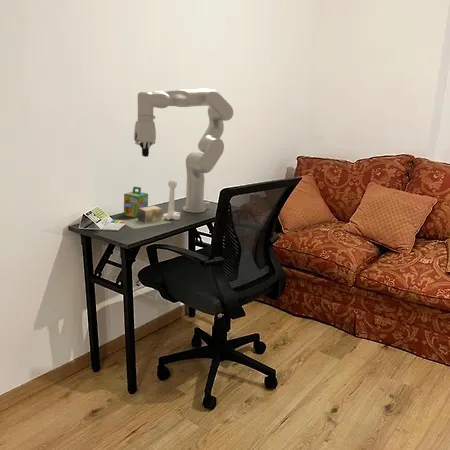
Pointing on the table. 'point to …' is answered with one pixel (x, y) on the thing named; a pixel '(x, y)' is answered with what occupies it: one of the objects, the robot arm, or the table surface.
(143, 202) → the chalk box
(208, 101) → the robot arm
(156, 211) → the maple block
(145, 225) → the mat
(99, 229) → the table surface
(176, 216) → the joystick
